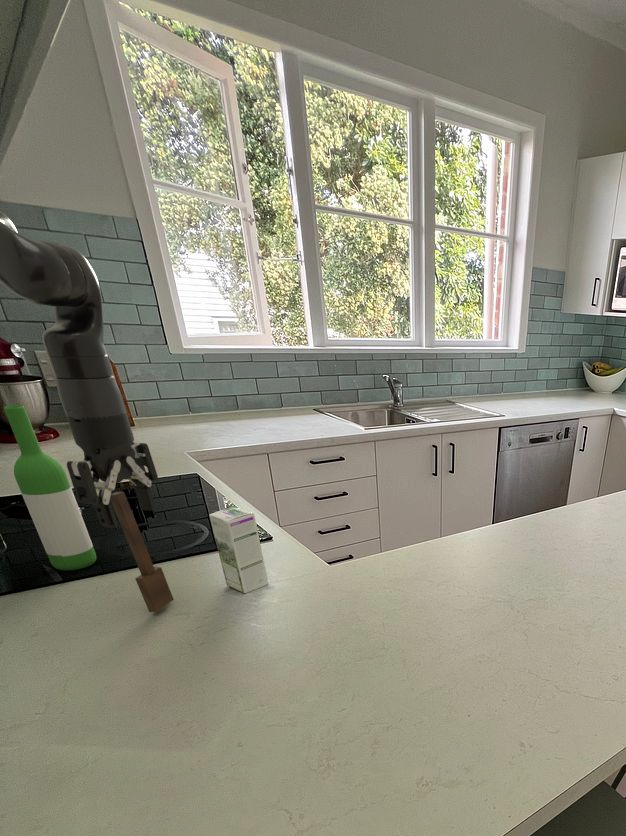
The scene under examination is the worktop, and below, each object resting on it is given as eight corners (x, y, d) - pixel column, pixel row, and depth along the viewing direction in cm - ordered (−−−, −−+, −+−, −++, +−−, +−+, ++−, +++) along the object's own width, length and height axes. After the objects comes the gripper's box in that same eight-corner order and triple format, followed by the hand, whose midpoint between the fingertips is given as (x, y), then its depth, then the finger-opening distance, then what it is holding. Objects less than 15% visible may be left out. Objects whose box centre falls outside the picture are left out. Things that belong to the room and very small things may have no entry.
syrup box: (270, 584, 106) (256, 511, 98) (243, 594, 101) (226, 520, 94) (251, 576, 108) (236, 505, 101) (225, 586, 104) (207, 513, 96)
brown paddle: (100, 497, 83) (108, 497, 83) (123, 489, 87) (130, 488, 87) (149, 611, 94) (156, 612, 94) (167, 599, 98) (173, 599, 98)
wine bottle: (70, 556, 114) (9, 402, 98) (106, 557, 114) (51, 403, 98) (43, 571, 107) (-27, 409, 91) (82, 573, 107) (18, 410, 91)
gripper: (108, 401, 85) (139, 502, 94) (30, 417, 73) (74, 531, 82) (152, 404, 84) (179, 506, 93) (80, 420, 72) (119, 536, 81)
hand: (130, 518), depth 87 cm, fingers open, 8 cm apart
